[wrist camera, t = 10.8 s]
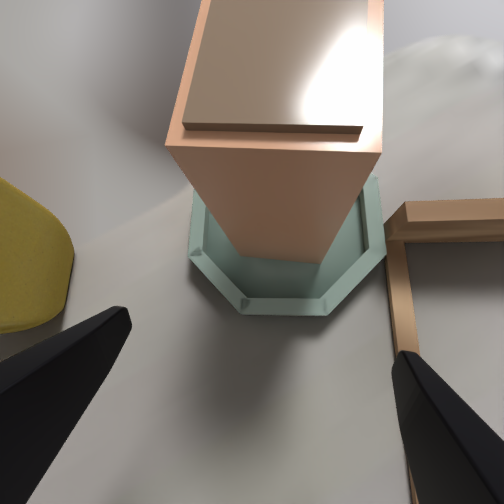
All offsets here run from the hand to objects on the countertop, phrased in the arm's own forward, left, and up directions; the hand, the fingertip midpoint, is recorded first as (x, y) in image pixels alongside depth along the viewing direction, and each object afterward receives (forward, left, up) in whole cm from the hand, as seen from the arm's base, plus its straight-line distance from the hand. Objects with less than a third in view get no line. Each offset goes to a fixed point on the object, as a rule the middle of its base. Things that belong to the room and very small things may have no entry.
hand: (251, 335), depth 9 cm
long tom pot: (+8, -1, -9) cm, 12 cm away
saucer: (+8, -1, -9) cm, 12 cm away
